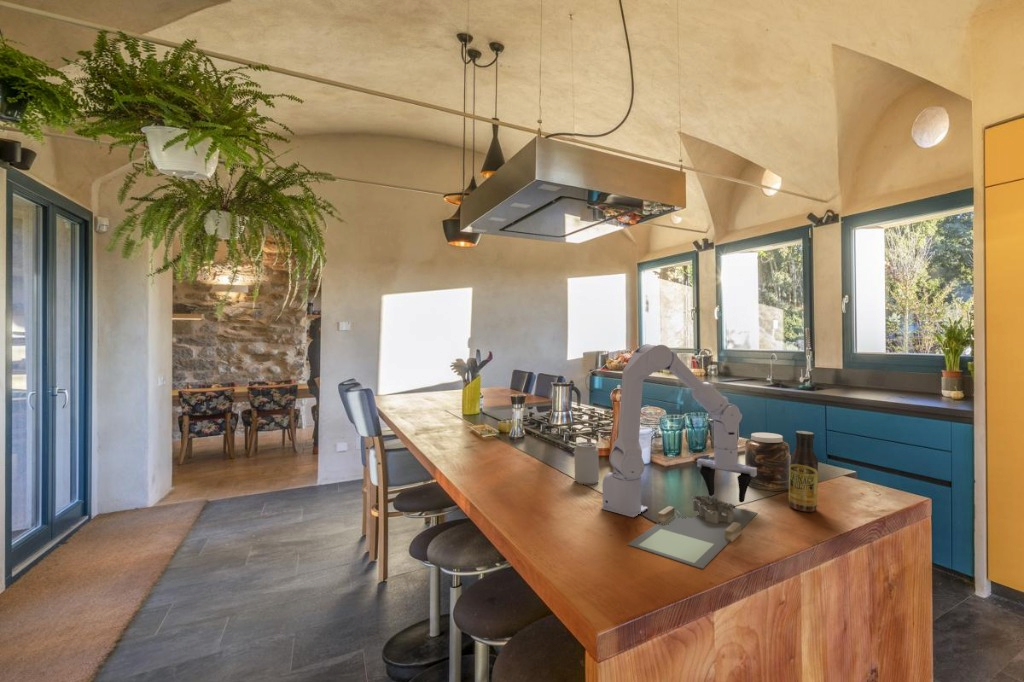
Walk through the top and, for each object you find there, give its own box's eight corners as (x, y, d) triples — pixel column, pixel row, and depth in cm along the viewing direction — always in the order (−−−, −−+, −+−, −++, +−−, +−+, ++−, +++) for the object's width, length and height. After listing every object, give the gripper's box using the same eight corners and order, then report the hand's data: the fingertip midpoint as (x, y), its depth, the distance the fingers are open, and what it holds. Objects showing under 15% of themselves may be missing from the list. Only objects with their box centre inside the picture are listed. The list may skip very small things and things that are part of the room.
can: (601, 485, 139) (600, 446, 139) (576, 485, 139) (575, 446, 139) (596, 478, 146) (596, 440, 146) (573, 478, 146) (572, 441, 146)
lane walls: (658, 521, 111) (658, 512, 111) (668, 514, 115) (668, 505, 115) (732, 542, 99) (732, 532, 99) (741, 533, 104) (740, 523, 104)
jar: (748, 476, 145) (748, 429, 145) (791, 483, 138) (791, 433, 138) (742, 486, 136) (741, 436, 135) (788, 494, 129) (787, 441, 129)
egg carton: (737, 523, 109) (737, 506, 109) (706, 524, 109) (706, 507, 109) (718, 507, 119) (717, 491, 119) (689, 507, 119) (689, 491, 119)
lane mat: (627, 544, 99) (627, 543, 99) (693, 499, 126) (693, 498, 126) (702, 569, 88) (702, 568, 88) (757, 513, 115) (757, 512, 115)
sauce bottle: (786, 509, 118) (785, 432, 118) (791, 502, 122) (790, 428, 122) (816, 515, 113) (815, 435, 113) (820, 508, 118) (819, 431, 118)
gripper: (759, 448, 120) (760, 500, 120) (703, 440, 130) (704, 488, 130) (751, 453, 115) (752, 507, 115) (693, 445, 125) (694, 495, 125)
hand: (726, 498), depth 122 cm, fingers open, 7 cm apart
